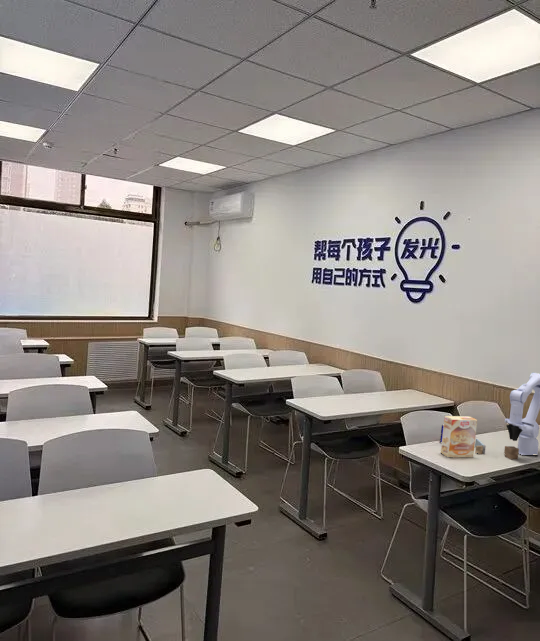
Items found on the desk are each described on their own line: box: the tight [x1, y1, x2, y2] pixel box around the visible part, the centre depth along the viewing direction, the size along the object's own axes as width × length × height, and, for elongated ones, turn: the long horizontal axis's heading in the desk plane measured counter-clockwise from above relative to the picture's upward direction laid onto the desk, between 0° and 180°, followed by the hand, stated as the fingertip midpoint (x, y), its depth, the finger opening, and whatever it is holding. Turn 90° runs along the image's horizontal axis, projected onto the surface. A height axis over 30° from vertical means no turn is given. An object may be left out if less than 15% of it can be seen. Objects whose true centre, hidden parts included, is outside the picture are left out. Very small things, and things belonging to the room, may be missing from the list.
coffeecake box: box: [440, 415, 478, 458], centre depth 262 cm, size 15×7×20 cm, turn 105°
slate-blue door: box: [474, 438, 487, 455], centre depth 274 cm, size 13×1×4 cm, turn 175°
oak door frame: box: [474, 445, 507, 455], centre depth 269 cm, size 18×2×4 cm, turn 101°
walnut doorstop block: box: [504, 445, 519, 460], centre depth 265 cm, size 4×4×6 cm
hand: (513, 440), depth 265 cm, fingers closed
